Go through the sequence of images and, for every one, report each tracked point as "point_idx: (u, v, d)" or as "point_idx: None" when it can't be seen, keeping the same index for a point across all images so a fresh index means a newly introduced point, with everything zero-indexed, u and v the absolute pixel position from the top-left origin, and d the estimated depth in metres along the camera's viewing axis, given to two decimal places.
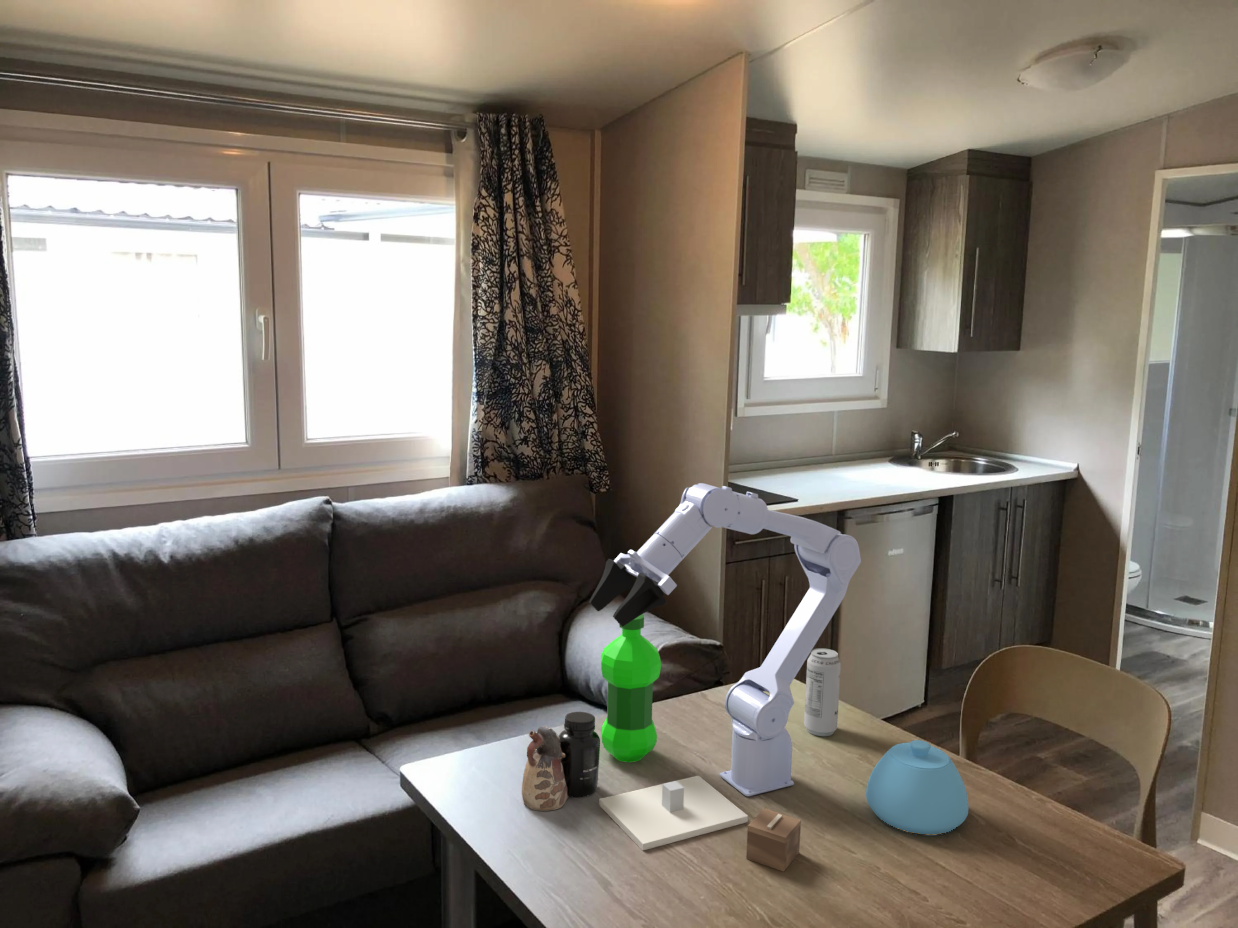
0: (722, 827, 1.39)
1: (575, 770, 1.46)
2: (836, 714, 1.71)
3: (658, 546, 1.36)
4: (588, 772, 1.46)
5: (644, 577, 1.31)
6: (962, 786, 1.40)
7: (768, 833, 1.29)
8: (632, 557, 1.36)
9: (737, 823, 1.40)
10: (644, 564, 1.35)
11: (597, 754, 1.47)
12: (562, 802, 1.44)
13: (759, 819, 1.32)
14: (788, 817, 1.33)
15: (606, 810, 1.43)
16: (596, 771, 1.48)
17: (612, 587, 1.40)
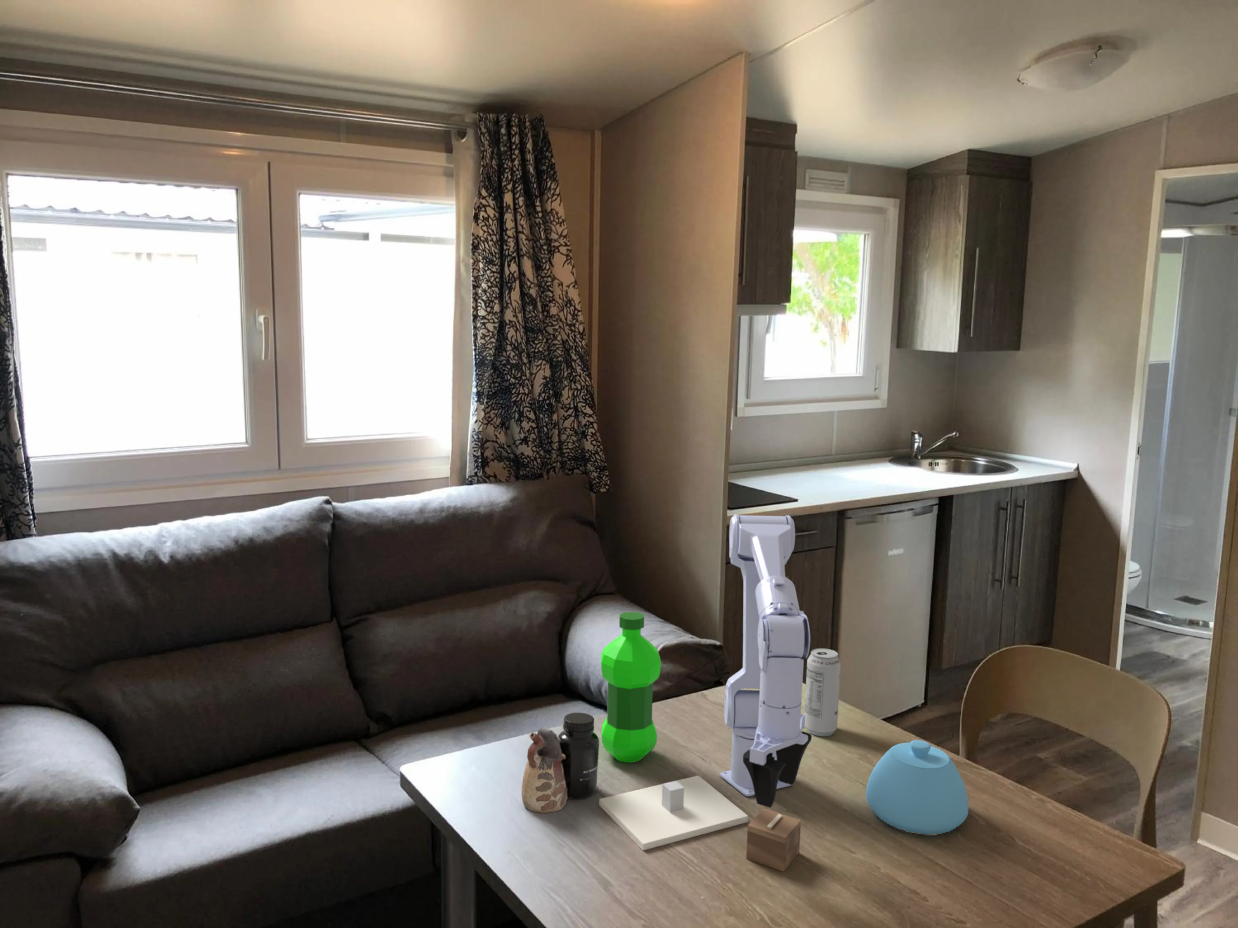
0: (722, 827, 1.39)
1: (575, 771, 1.45)
2: (836, 714, 1.71)
3: None
4: (588, 773, 1.46)
5: (811, 738, 1.33)
6: (962, 786, 1.40)
7: (768, 833, 1.29)
8: None
9: (737, 823, 1.40)
10: (801, 732, 1.30)
11: (596, 755, 1.47)
12: (563, 804, 1.43)
13: (759, 819, 1.32)
14: (788, 817, 1.33)
15: (606, 810, 1.43)
16: (595, 772, 1.48)
17: None
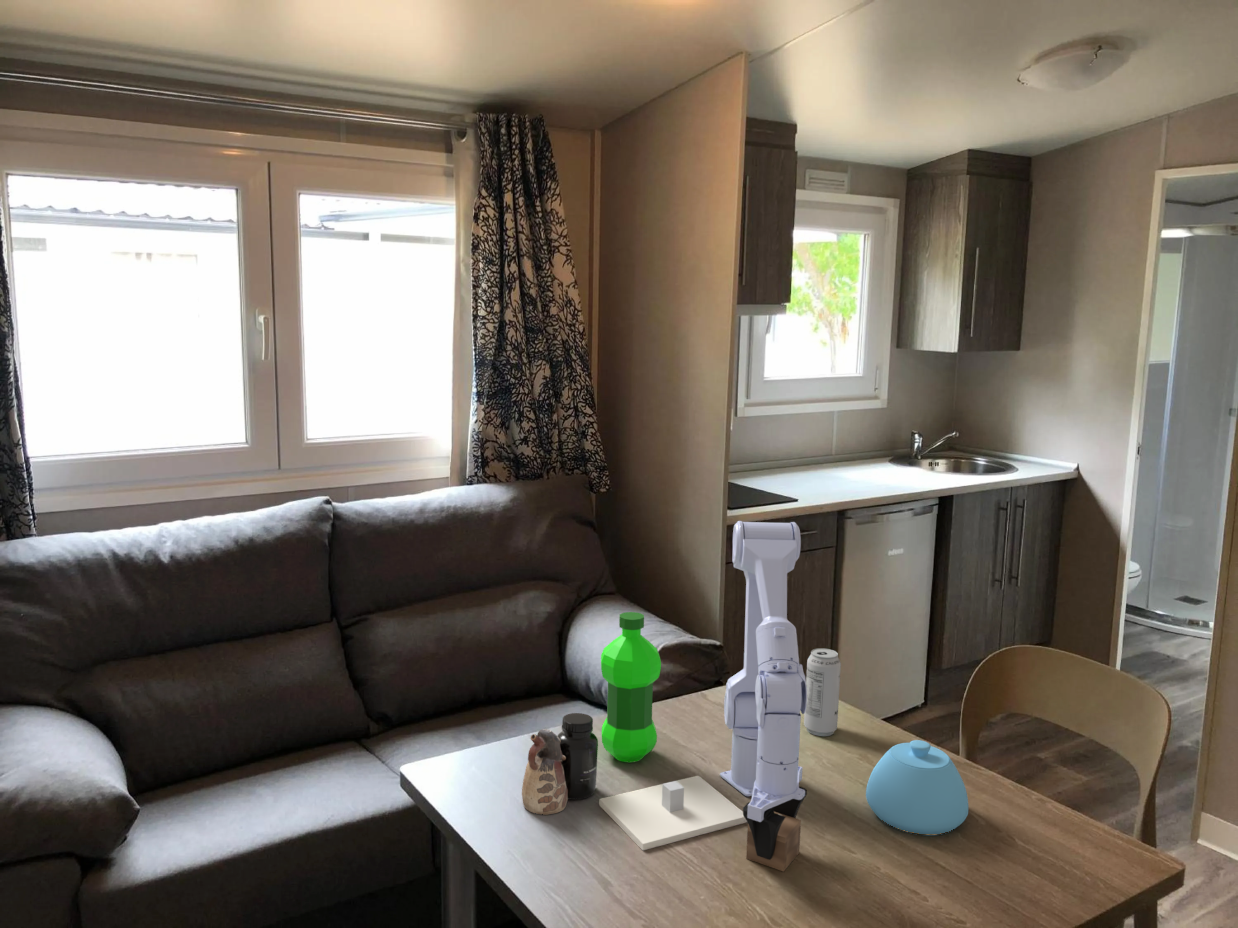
0: (722, 827, 1.39)
1: (576, 772, 1.45)
2: (836, 714, 1.71)
3: None
4: (588, 773, 1.46)
5: (806, 793, 1.33)
6: (962, 786, 1.40)
7: None
8: None
9: (737, 823, 1.40)
10: None
11: (596, 754, 1.47)
12: (564, 805, 1.43)
13: None
14: (788, 817, 1.33)
15: (606, 810, 1.43)
16: (595, 772, 1.48)
17: None
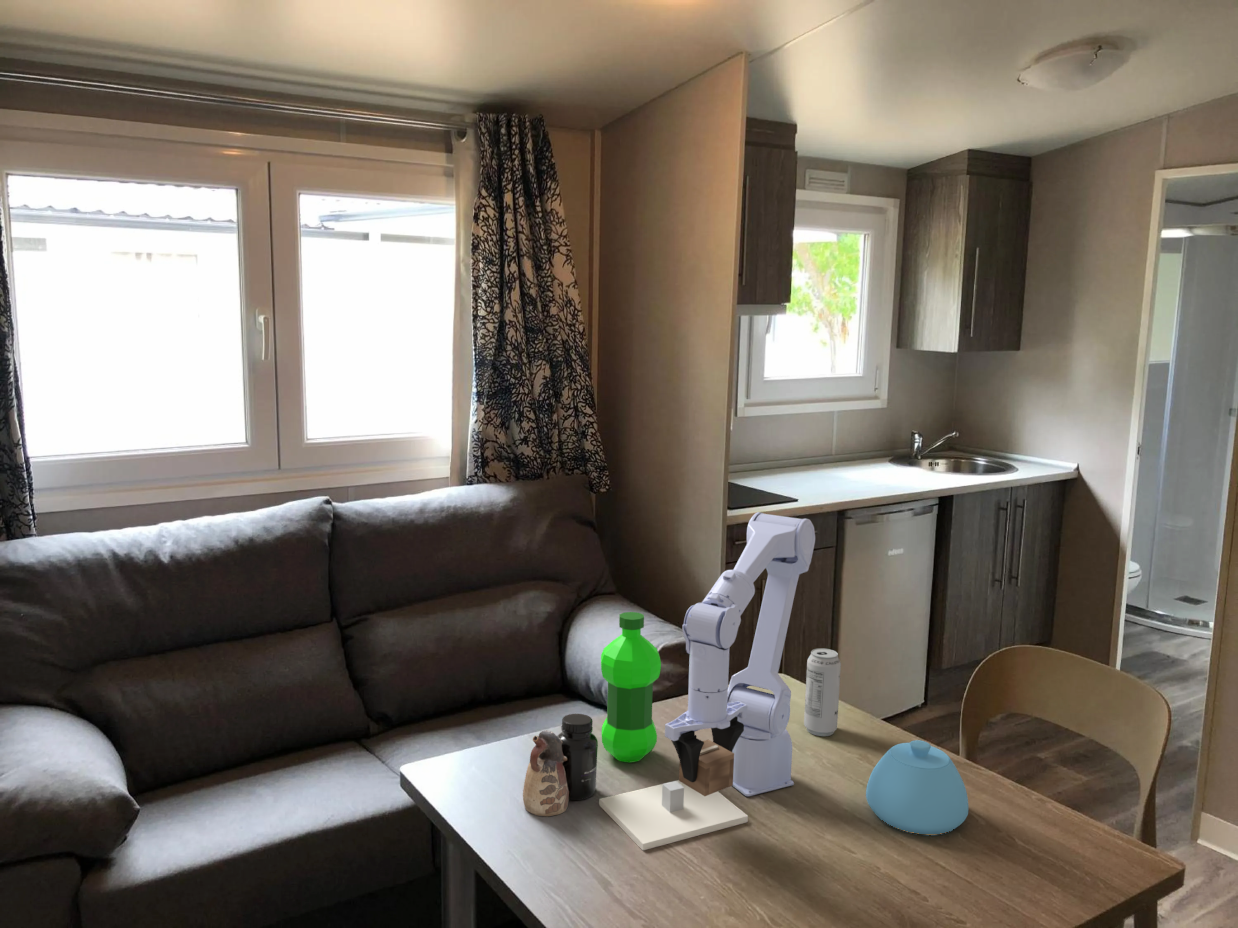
0: (722, 827, 1.39)
1: (577, 773, 1.45)
2: (836, 714, 1.71)
3: (727, 697, 1.35)
4: (589, 774, 1.46)
5: (742, 728, 1.38)
6: (962, 786, 1.40)
7: None
8: None
9: (737, 823, 1.40)
10: (730, 719, 1.36)
11: (596, 755, 1.47)
12: (566, 806, 1.43)
13: None
14: (724, 749, 1.38)
15: (606, 810, 1.43)
16: (595, 772, 1.47)
17: None
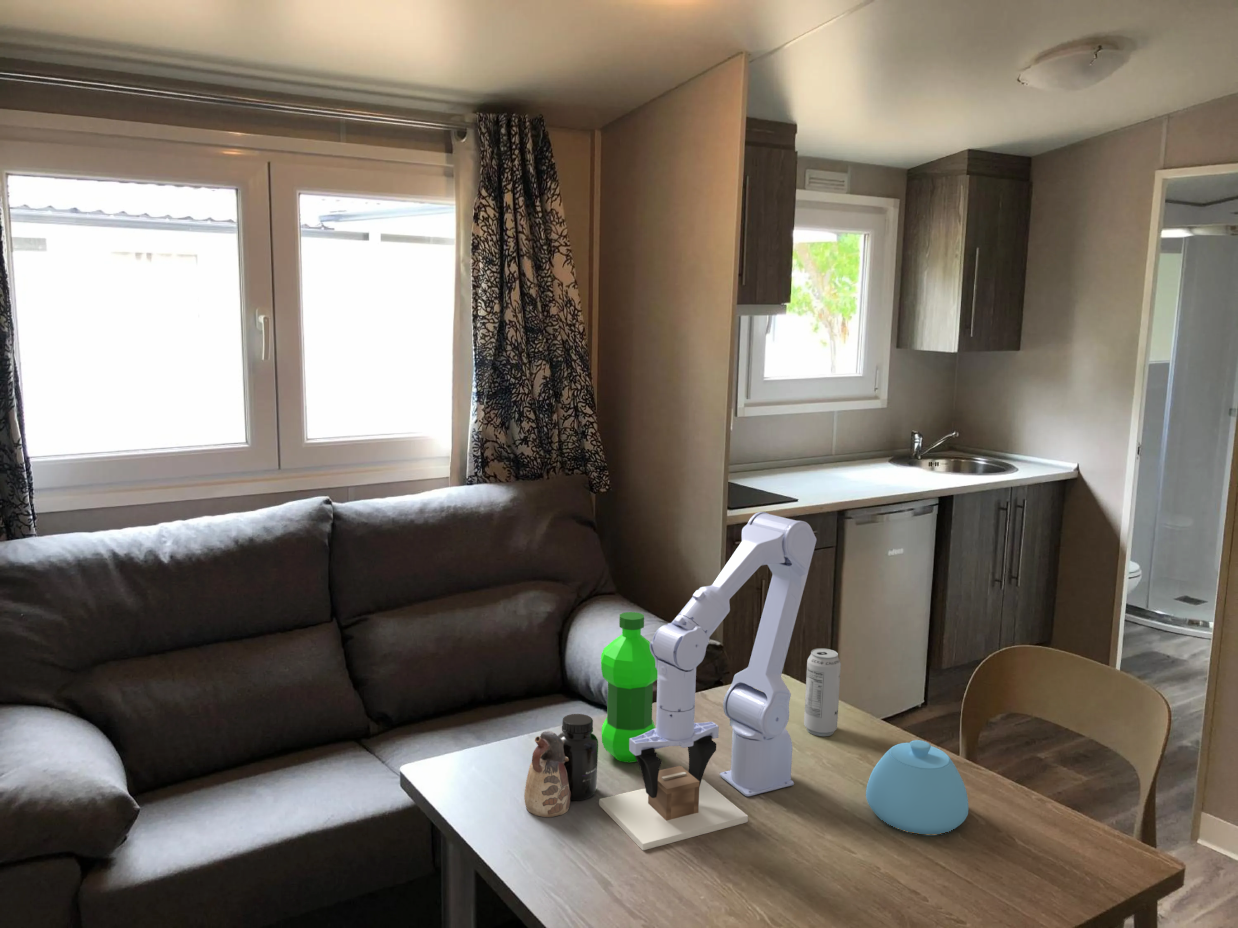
0: (722, 827, 1.39)
1: (578, 773, 1.45)
2: (836, 714, 1.71)
3: (693, 717, 1.39)
4: (590, 773, 1.46)
5: (714, 748, 1.41)
6: (962, 786, 1.40)
7: (658, 782, 1.40)
8: None
9: (737, 823, 1.40)
10: (696, 738, 1.40)
11: (597, 754, 1.47)
12: (568, 806, 1.43)
13: (664, 771, 1.43)
14: (691, 776, 1.42)
15: (606, 810, 1.43)
16: (596, 771, 1.48)
17: None
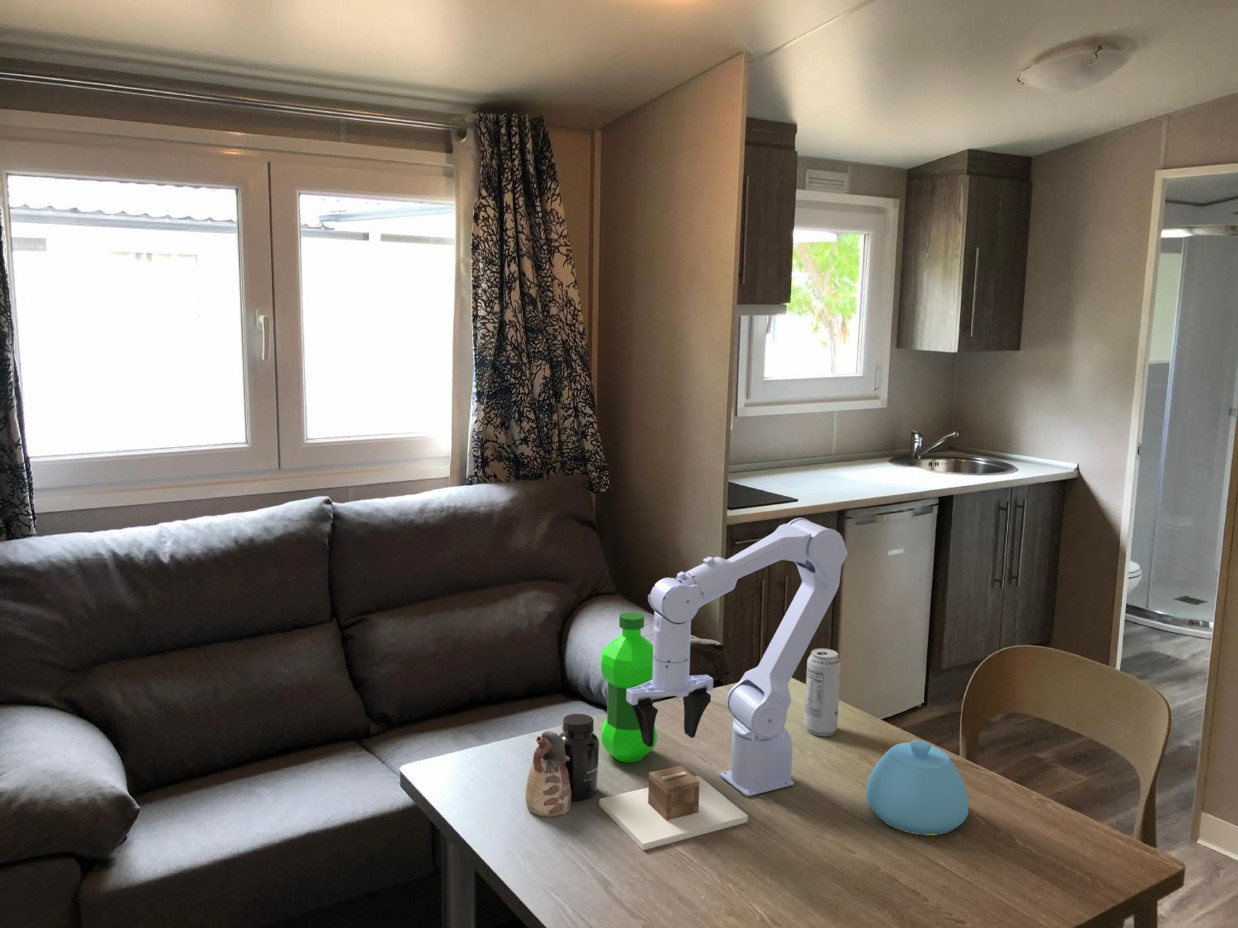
0: (722, 827, 1.39)
1: (579, 773, 1.45)
2: (836, 714, 1.71)
3: (688, 668, 1.44)
4: (591, 773, 1.46)
5: (708, 699, 1.46)
6: (962, 786, 1.40)
7: (658, 782, 1.40)
8: None
9: (737, 823, 1.40)
10: (691, 689, 1.44)
11: (598, 754, 1.47)
12: (569, 806, 1.43)
13: (664, 771, 1.43)
14: (691, 776, 1.42)
15: (606, 810, 1.43)
16: (597, 771, 1.48)
17: None
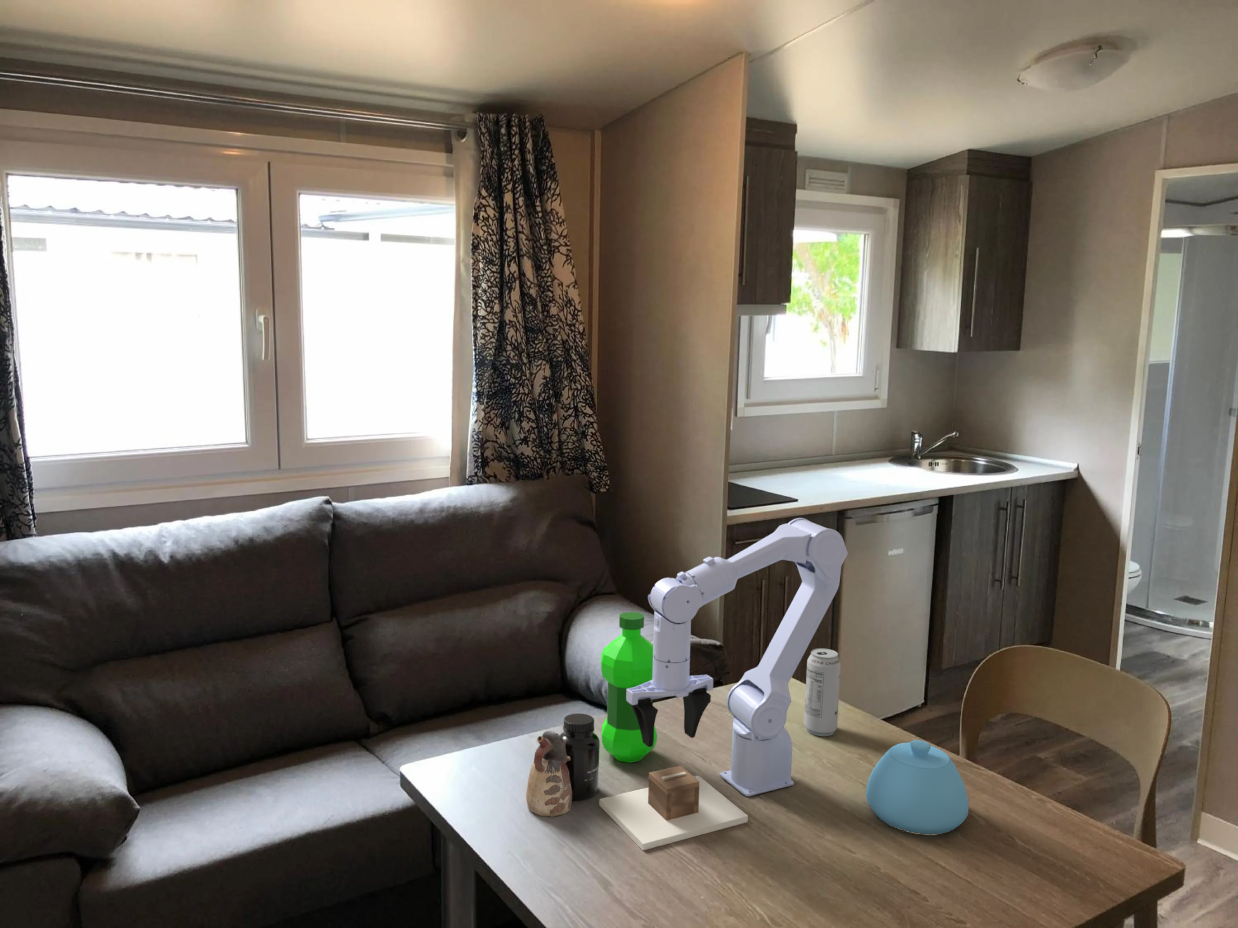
0: (722, 827, 1.39)
1: (580, 772, 1.45)
2: (836, 714, 1.71)
3: (688, 668, 1.44)
4: (592, 773, 1.46)
5: (708, 699, 1.46)
6: (962, 786, 1.40)
7: (658, 782, 1.40)
8: None
9: (737, 823, 1.40)
10: (691, 689, 1.44)
11: (598, 754, 1.48)
12: (570, 806, 1.43)
13: (664, 771, 1.43)
14: (691, 776, 1.42)
15: (606, 810, 1.43)
16: (597, 771, 1.48)
17: None
